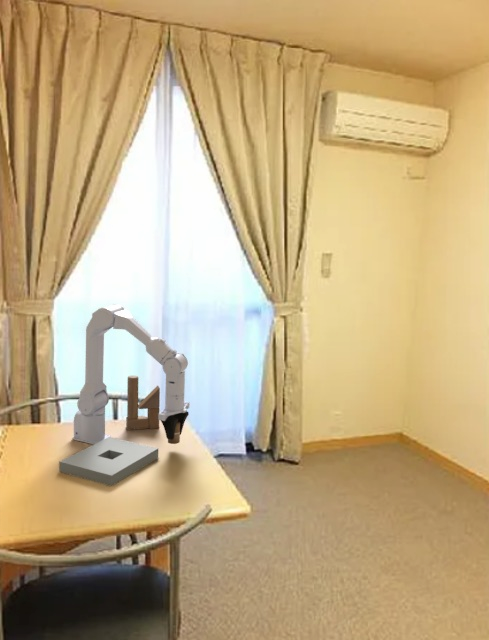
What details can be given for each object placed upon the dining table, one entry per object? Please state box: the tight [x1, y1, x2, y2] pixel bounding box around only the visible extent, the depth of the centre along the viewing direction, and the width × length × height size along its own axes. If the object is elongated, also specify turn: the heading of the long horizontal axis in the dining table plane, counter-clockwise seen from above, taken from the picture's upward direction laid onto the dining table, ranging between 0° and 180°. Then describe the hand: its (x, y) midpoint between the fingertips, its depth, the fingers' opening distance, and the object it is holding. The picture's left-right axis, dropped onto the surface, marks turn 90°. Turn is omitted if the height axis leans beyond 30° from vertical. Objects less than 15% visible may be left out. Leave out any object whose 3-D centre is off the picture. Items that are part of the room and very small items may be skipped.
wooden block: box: [125, 375, 161, 431], centre depth 199 cm, size 4×11×18 cm, turn 108°
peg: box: [167, 422, 181, 445], centre depth 181 cm, size 4×4×6 cm
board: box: [58, 436, 159, 487], centre depth 170 cm, size 18×22×3 cm
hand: (173, 436), depth 181 cm, fingers closed on peg, 4 cm apart
